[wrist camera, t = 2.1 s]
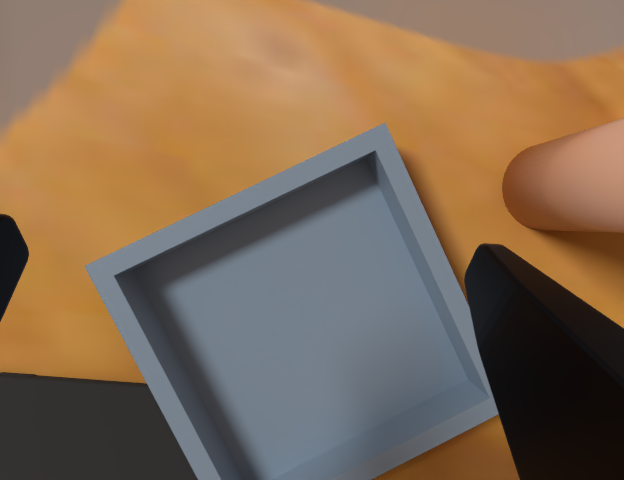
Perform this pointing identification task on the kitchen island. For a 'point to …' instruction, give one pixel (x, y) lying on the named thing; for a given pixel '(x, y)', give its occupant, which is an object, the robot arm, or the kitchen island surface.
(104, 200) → the kitchen island surface
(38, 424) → the phone
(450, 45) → the kitchen island surface
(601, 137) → the tan rounded glossy part
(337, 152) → the tray
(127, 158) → the kitchen island surface
